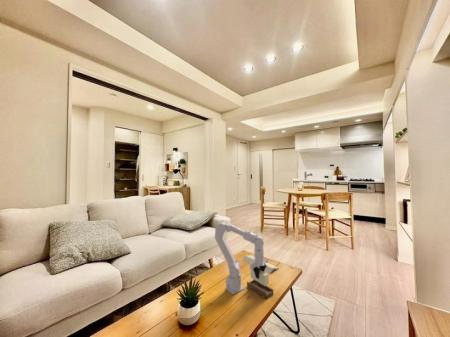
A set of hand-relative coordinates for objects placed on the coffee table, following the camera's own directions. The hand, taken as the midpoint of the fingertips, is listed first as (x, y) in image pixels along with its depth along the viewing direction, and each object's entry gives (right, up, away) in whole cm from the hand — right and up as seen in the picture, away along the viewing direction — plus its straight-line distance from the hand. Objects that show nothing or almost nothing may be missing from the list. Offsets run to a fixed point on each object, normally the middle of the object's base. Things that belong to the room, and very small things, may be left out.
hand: (259, 276), depth 120 cm
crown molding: (+6, -10, +33) cm, 35 cm away
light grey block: (0, -2, 0) cm, 2 cm away
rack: (0, -8, 0) cm, 8 cm away
